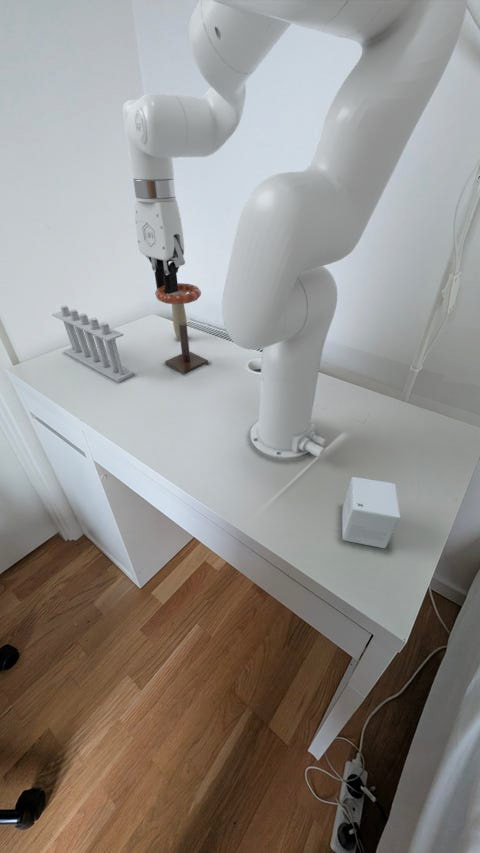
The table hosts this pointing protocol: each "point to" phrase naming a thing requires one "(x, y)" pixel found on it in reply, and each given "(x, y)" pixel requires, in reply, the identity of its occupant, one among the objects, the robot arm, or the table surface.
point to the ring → (179, 299)
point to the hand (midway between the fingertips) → (167, 290)
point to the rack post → (185, 355)
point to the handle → (178, 314)
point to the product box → (370, 512)
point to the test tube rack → (93, 343)
